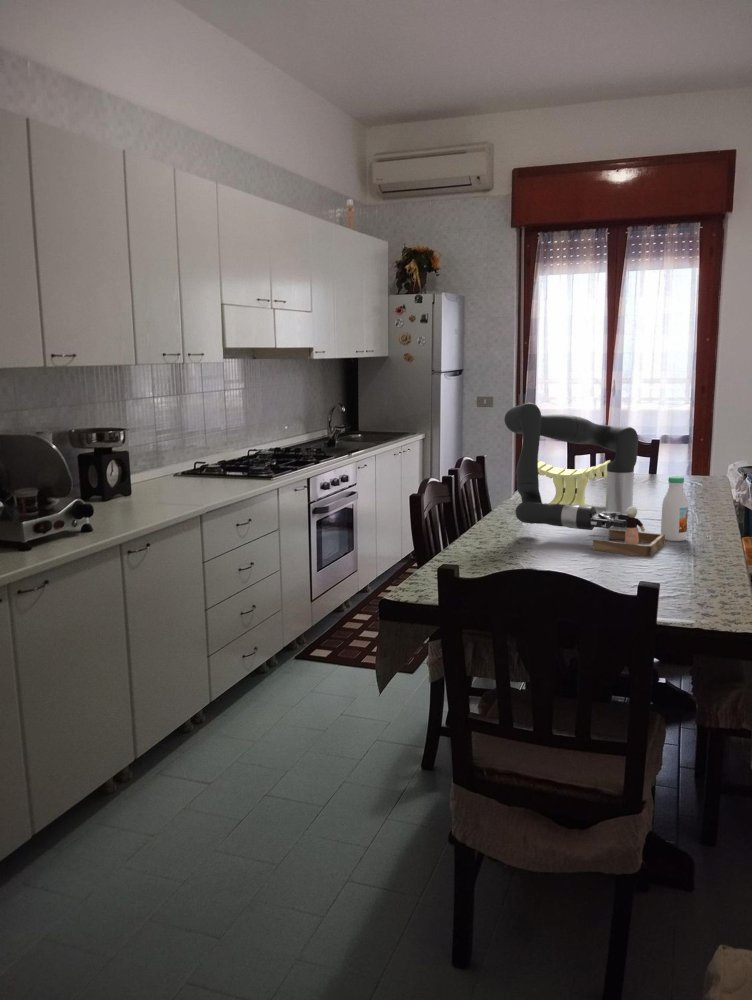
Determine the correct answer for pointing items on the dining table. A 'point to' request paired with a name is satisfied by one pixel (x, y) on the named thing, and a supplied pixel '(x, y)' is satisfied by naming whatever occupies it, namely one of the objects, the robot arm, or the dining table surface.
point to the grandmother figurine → (632, 526)
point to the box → (626, 548)
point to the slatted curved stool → (571, 482)
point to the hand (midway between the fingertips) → (630, 521)
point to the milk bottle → (675, 511)
